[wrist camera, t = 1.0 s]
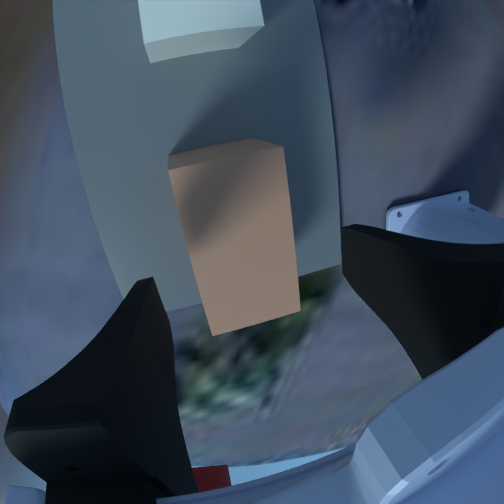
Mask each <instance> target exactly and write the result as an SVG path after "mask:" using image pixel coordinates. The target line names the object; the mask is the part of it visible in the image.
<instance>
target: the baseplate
mask: <svg viewBox="0 0 504 504" xmlns="http://www.w3.org/2000/svg"><path fill="white" fill-rule="evenodd" d="M260 4H261V10H262V15H263V21H264V27H263V28H261V29H260V30H259V31H258V32H257V33H255V34H254V35H253V36H252V37H251V38H249V39H248V40H247V41H246V42H245V43H244V44H243V45H241V46H240V47H239V48H233V49H225V50H218V51H211V52H204V53H198V54H192V55H187V56H181V57H176V58H171V59H167V60H162V61H158V62H153V63H150V61H149V58H148V55H147V52H146V48H145V45H144V41H143V34H142V27H141V20H140V13H139V5H138V0H53V17H54V31H55V42H56V51H57V60H58V67H59V75H60V81H61V88H62V94H63V99H64V105H65V110H66V115H67V120H68V125H69V130H70V134H71V139H72V143H73V147H74V152H75V156H76V160H77V163H78V167H79V171H80V175H81V178H82V182H83V186H84V189H85V192H86V196H87V199H88V203H89V206H90V209H91V212H92V215H93V218H94V221H95V225H96V228H97V230H98V233H99V236H100V239H101V242H102V245H103V248H104V250H105V253H106V256H107V259H108V261H109V264H110V267H111V269H112V272H113V274H114V277H115V279H116V282H117V284H118V287H119V289H120V292H121V294H122V297H123V299H124V298H125V297H126V295H127V294H128V292H129V291H130V289H131V288H132V287H133V285H134V284H135V283H136V281H138V280H141V279H145V278H149V277H153V278H154V280H155V283H156V286H157V289H158V292H159V295H160V297H161V300H162V303H163V305H164V308H165V311H166V312H168V311H172V310H176V309H180V308H184V307H188V306H192V305H195V304H199V303H202V299H201V296H200V292H199V289H198V285H197V282H196V278H195V275H194V271H193V268H192V264H191V260H190V257H189V253H188V249H187V245H186V242H185V238H184V234H183V230H182V226H181V222H180V218H179V214H178V210H177V206H176V202H175V198H174V194H173V189H172V185H171V181H170V176H169V172H168V156H170V155H174V154H178V153H182V152H186V151H191V150H195V149H200V148H204V147H209V146H214V145H218V144H223V143H228V142H233V141H239V140H244V139H250V138H256V139H259V140H263V141H266V142H270V143H273V144H277V145H280V146H283V148H284V156H285V164H286V172H287V180H288V188H289V197H290V205H291V214H292V224H293V233H294V243H295V253H296V263H297V274H298V276H301V275H305V274H308V273H312V272H315V271H318V270H322V269H325V268H329V267H332V266H335V265H339V264H341V234H340V209H339V191H338V175H337V162H336V150H335V139H334V129H333V120H332V111H331V103H330V95H329V87H328V80H327V73H326V66H325V59H324V53H323V47H322V41H321V35H320V30H319V25H318V19H317V14H316V9H315V4H314V0H260Z"/></svg>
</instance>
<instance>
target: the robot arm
mask: <svg viewBox="0 0 504 504" xmlns="http://www.w3.org/2000/svg"><path fill="white" fill-rule="evenodd" d="M398 212H399V214H398ZM397 214H398V215H397ZM341 229H342V273H343V275H344V276H345V278H346V279H347V281H348V282H349V284H350V285H351V287H352V288H353V289H354V291H355V292H356V293H357V294H358V295H359V296H360V297H361V298H362V300H363V301H364V302H365V303H366V304H367V305H368V306H369V307H370V308H371V309H372V310H373V311H374V312H375V313H376V315H377V316H378V317H379V318H380V319H381V320H382V321H383V322H384V323H385V324H386V325H387V326H388V328H389V329H390V330H391V331H392V332H393V334H394V335H395V336H396V338H397V339H398V341H399V342H400V344H401V345H402V346H403V348H404V349H405V351H406V352H407V354H408V356H409V357H410V359H411V360H412V362H413V364H414V365H415V367H416V369H417V370H418V372H419V374H420V376H421V378H422V380H421V381H419V382H418V383H416V384H414V385H413V386H411V387H410V388H409V389H407V390H406V391H404V392H403V393H401V394H400V395H398V396H397V397H395V398H394V399H392V400H391V401H390V402H389V403H388V404H387V405H386V406H384V407H383V408H382V409H381V410H380V411H379V412H378V413H377V414H376V415H375V416H374V417H373V418H372V419H371V420H370V421H369V422H368V423H367V425H366V427H365V428H364V430H363V432H362V433H361V435H360V436H359V438H358V441H357V443H355V444H353V445H351V446H349V447H346V448H344V449H342V450H339V451H337V452H335V453H332V454H330V455H327V456H325V457H323V458H320V459H317V460H314V461H312V462H309V463H306V464H304V465H301V466H298V467H295V468H292V469H290V470H286V471H283V472H280V473H277V474H274V475H270V476H267V477H263V478H260V479H256V480H253V481H249V482H245V483H241V484H237V485H233V486H229V487H224V488H220V489H215V490H210V491H205V492H199V490H198V487H197V484H196V480H195V477H194V474H193V471H192V467H191V463H190V460H189V456H188V452H187V448H186V444H185V440H184V436H183V432H182V427H181V422H180V417H179V412H178V407H177V400H176V389H175V369H174V346H173V339H172V333H171V327H170V321H169V319H168V316H167V313H166V311H165V308H164V305H163V303H162V300H161V297H160V295H159V292H158V289H157V286H156V283H155V280H154V278H153V277H149V278H145V279H141V280H138V281H136V283H135V284H134V285H133V287H132V288H131V289H130V291H129V292H128V294H127V295H126V297H125V298H124V300H123V301H122V303H121V304H120V305H119V307H118V308H117V310H116V311H115V312H114V314H113V315H112V316H111V318H110V319H109V320H108V322H107V323H106V324H105V326H104V327H103V328H102V329H101V331H100V332H99V333H98V334H97V335H96V336H95V338H94V339H93V340H92V341H91V342H90V343H89V344H88V345H87V346H86V347H85V348H84V349H83V350H82V351H81V352H80V353H79V354H78V355H76V356H75V357H74V358H73V359H72V360H71V361H70V362H69V363H68V364H67V365H65V366H64V367H63V368H62V369H60V370H59V371H58V372H57V373H55V374H54V375H53V376H51V377H50V378H49V379H47V380H46V381H44V382H43V383H41V384H40V385H38V386H37V387H35V388H34V389H32V390H30V391H29V392H27V393H25V394H24V395H22V396H20V397H19V398H17V399H15V400H14V401H13V405H12V408H11V412H10V415H9V419H8V423H7V426H6V431H5V435H4V439H5V444H6V446H7V447H8V449H9V450H10V452H11V453H12V454H13V455H14V456H15V457H16V458H17V459H18V460H19V461H20V462H21V463H22V464H23V465H25V466H26V467H27V468H29V469H30V470H31V471H32V472H34V473H35V474H36V475H38V476H39V477H40V478H42V479H43V480H44V481H46V482H47V486H46V492H44V491H43V490H40V489H36V488H30V487H20V486H13V485H9V486H7V493H6V502H5V504H504V219H502V218H500V217H498V216H496V215H494V214H492V213H490V212H488V211H486V210H484V209H481V208H479V207H477V206H475V205H473V204H470V203H469V192H468V191H465V190H463V191H459V192H454V193H450V194H446V195H442V196H437V197H433V198H429V199H425V200H421V201H416V202H412V203H408V204H404V205H400V206H395V207H392V208H390V209H389V210H388V211H387V215H386V230H385V229H380V228H376V227H371V226H366V225H359V224H353V225H350V226H346V227H342V228H341Z"/></svg>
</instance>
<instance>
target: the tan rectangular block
mask: <svg viewBox="0 0 504 504" xmlns="http://www.w3.org/2000/svg"><path fill="white" fill-rule="evenodd" d="M168 172H169V176H170V181H171V185H172V189H173V194H174V198H175V202H176V206H177V210H178V214H179V218H180V222H181V226H182V230H183V234H184V238H185V242H186V245H187V249H188V253H189V257H190V260H191V264H192V268H193V271H194V275H195V278H196V282H197V285H198V289H199V292H200V296H201V299H202V303H203V306H204V310H205V313H206V316H207V320H208V323H209V326H210V329H211V333H212V336H215V335H219V334H223V333H226V332H230V331H234V330H237V329H241V328H244V327H248V326H252V325H255V324H258V323H262V322H265V321H269V320H272V319H275V318H279V317H282V316H285V315H289V314H292V313H295V312H298V311H301V309H300V297H299V285H298V274H297V263H296V253H295V243H294V233H293V224H292V214H291V205H290V197H289V188H288V180H287V172H286V164H285V156H284V148H283V146H280V145H277V144H273V143H270V142H266V141H263V140H259V139H256V138H250V139H244V140H239V141H233V142H228V143H223V144H218V145H214V146H209V147H204V148H200V149H195V150H191V151H186V152H182V153H178V154H174V155H170V156H168Z"/></svg>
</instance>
